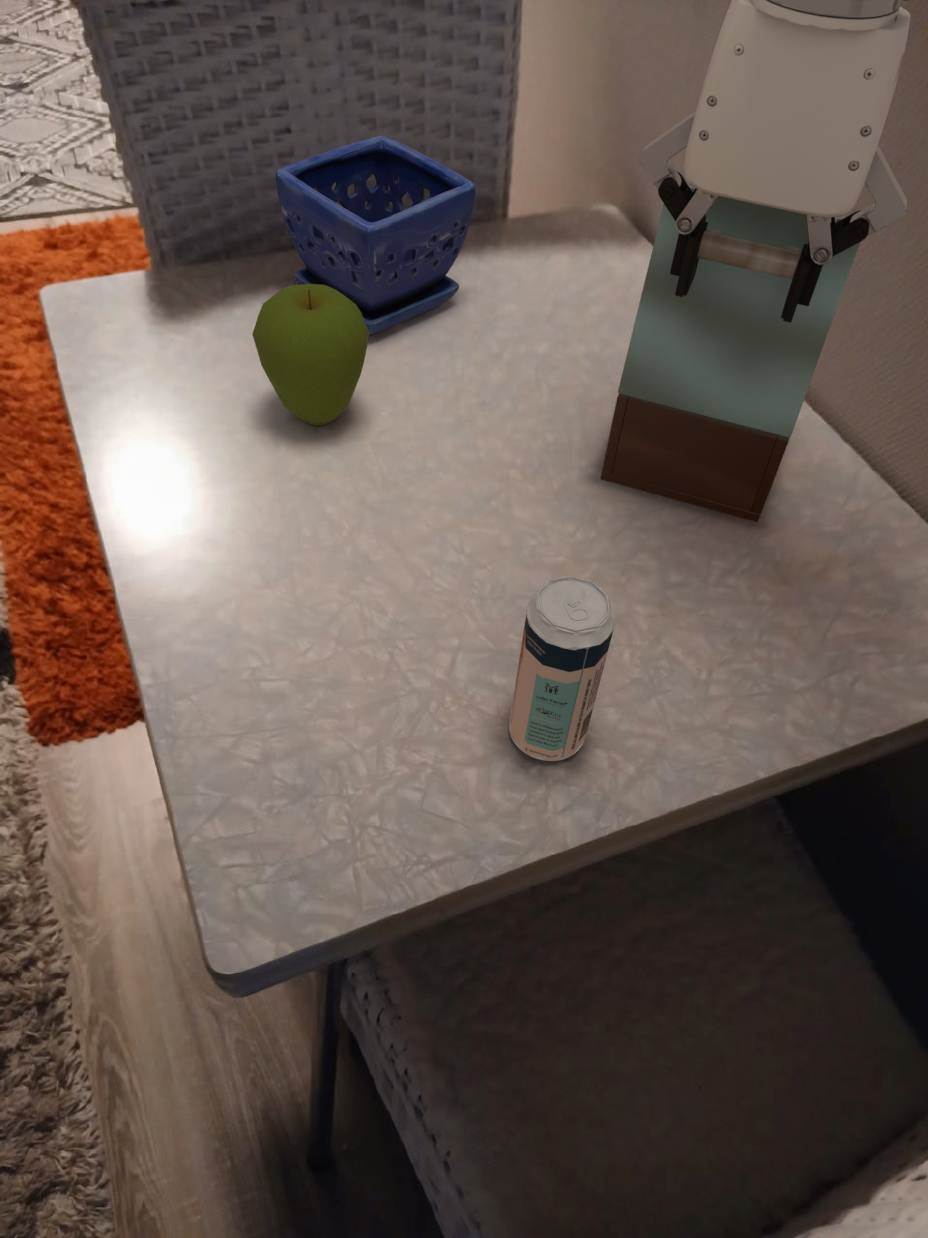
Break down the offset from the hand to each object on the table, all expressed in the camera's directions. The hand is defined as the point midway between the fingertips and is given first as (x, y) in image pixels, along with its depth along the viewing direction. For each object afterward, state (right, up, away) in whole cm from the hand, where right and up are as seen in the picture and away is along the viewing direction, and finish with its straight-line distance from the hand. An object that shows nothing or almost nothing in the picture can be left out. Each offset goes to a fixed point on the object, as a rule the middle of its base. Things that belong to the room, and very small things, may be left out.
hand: (736, 296), depth 62 cm
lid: (+1, 0, +4) cm, 4 cm away
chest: (+2, -7, +18) cm, 19 cm away
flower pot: (-26, +10, +31) cm, 42 cm away
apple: (-30, -4, +18) cm, 35 cm away
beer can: (-12, -28, -1) cm, 31 cm away
